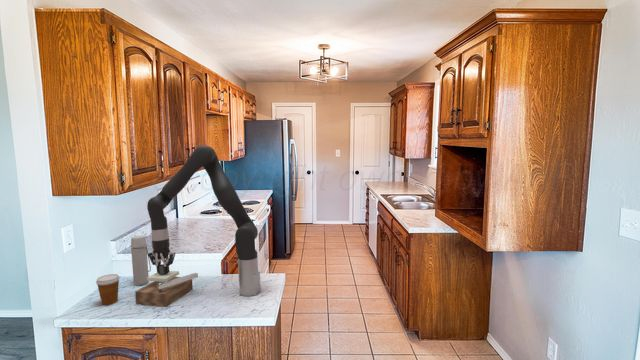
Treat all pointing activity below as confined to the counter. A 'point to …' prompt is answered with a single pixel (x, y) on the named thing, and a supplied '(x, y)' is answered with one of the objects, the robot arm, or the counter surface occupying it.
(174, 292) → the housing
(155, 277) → the lid
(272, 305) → the counter surface
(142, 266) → the water bottle
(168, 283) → the latch bar
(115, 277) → the disposable coffee cup
